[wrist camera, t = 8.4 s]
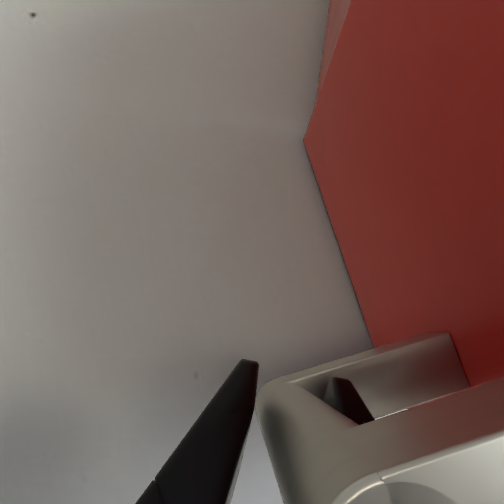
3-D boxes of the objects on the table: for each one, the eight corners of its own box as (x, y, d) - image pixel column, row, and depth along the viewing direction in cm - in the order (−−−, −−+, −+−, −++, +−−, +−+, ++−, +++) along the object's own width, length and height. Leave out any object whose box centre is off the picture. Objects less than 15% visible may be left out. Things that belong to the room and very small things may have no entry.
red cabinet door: (264, 445, 15) (488, 1226, 2) (189, 167, 17) (43, -388, 4) (411, 397, 15) (1401, 708, 2) (319, 136, 18) (553, -434, 5)
